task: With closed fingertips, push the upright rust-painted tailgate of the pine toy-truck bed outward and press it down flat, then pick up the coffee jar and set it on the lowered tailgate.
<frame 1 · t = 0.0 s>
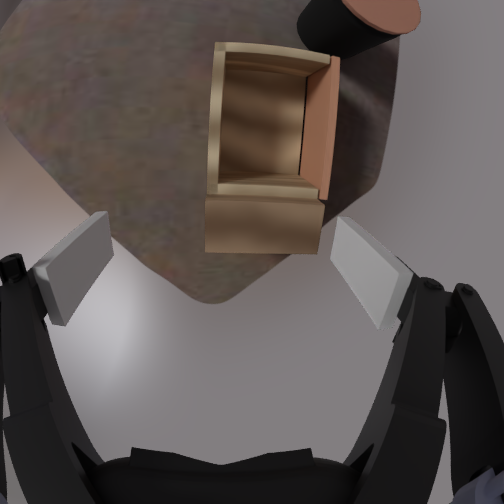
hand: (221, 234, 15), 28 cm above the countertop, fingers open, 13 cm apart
truck bed: (258, 121, 37), on the countertop
coffee jar: (326, 33, 31), on the countertop
tailgate: (318, 125, 32), point 6 cm above the countertop, hinge at 0.0°
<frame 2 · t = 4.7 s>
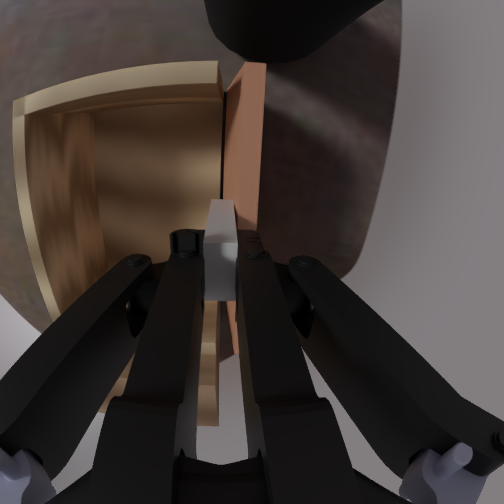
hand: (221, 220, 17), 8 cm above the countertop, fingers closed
truck bed: (151, 188, 24), on the countertop
coffee jar: (268, 18, 17), on the countertop
tailgate: (235, 207, 19), point 6 cm above the countertop, hinge at 5.9°, touching gripper
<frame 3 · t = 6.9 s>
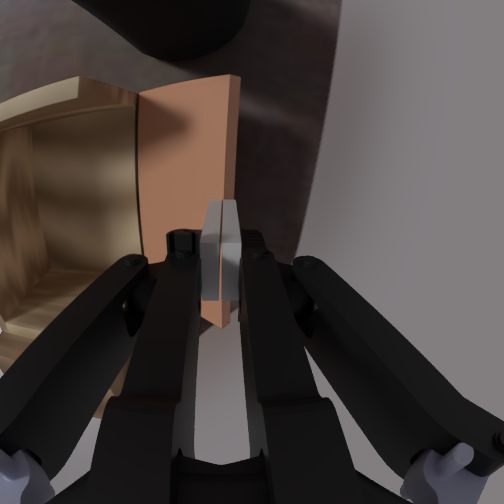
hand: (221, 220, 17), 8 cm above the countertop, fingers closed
truck bed: (81, 193, 22), on the countertop
coffee jar: (186, 15, 16), on the countertop
tailgate: (178, 202, 20), point 4 cm above the countertop, hinge at 48.4°, touching gripper
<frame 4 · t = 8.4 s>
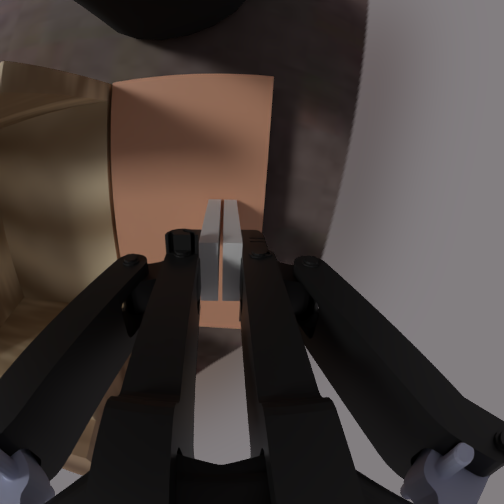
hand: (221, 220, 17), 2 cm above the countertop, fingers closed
truck bed: (49, 212, 17), on the countertop
tailgate: (185, 214, 17), point 1 cm above the countertop, hinge at 85.6°, touching gripper
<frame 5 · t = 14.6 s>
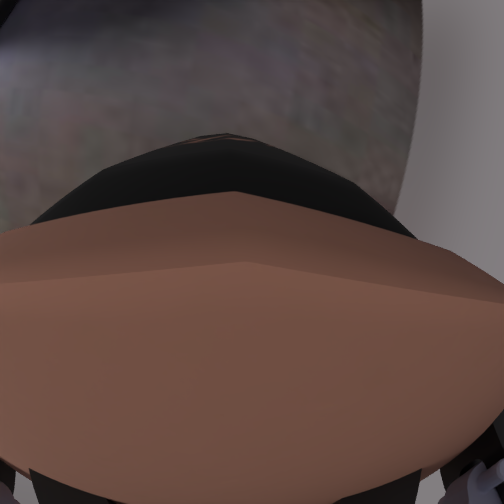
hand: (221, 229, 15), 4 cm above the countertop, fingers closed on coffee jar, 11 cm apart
coffee jar: (222, 208, 19), on the countertop, touching gripper
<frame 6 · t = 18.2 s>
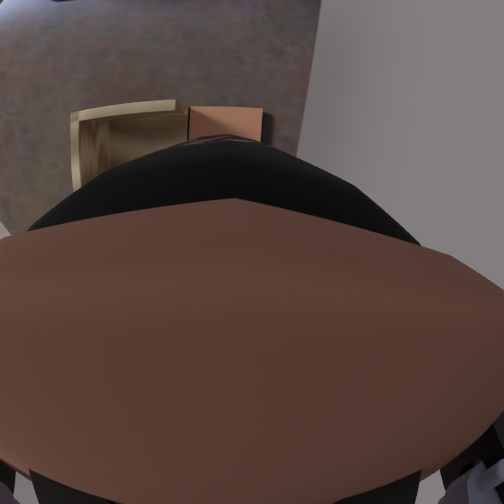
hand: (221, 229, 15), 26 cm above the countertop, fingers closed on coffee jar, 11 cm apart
truck bed: (145, 167, 37), on the countertop
coffee jar: (222, 208, 19), point 22 cm above the countertop, touching gripper
tailgate: (223, 168, 38), point 1 cm above the countertop, hinge at 85.7°
when the fingers open (7 cm above the countertop, at t = 22.2 s): coffee jar drops 2 cm, resting on tailgate, truck bed.
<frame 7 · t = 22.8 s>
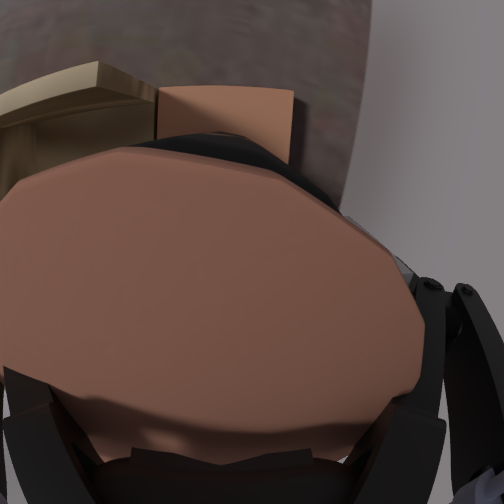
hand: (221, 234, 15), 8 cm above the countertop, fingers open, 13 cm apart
truck bed: (91, 199, 21), on the countertop
coffee jar: (217, 199, 21), point 1 cm above the countertop, touching tailgate, truck bed
tailgate: (220, 199, 21), point 1 cm above the countertop, hinge at 87.7°, touching coffee jar
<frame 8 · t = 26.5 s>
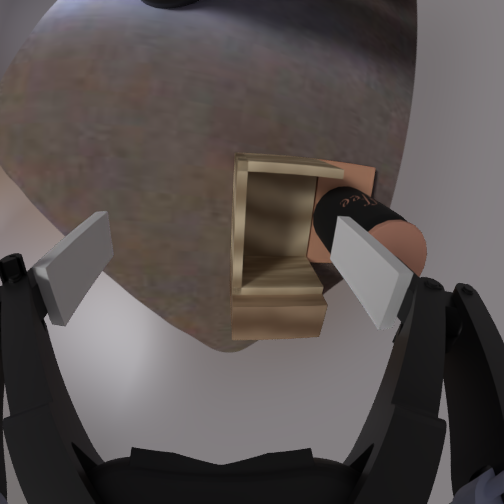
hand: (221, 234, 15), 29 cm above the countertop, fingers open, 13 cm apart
truck bed: (272, 209, 44), on the countertop
coffee jar: (340, 214, 44), point 1 cm above the countertop, touching tailgate, truck bed
tailgate: (340, 214, 45), point 1 cm above the countertop, hinge at 87.7°, touching coffee jar
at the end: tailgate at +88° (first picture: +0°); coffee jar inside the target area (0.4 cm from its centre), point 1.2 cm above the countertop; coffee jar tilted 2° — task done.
